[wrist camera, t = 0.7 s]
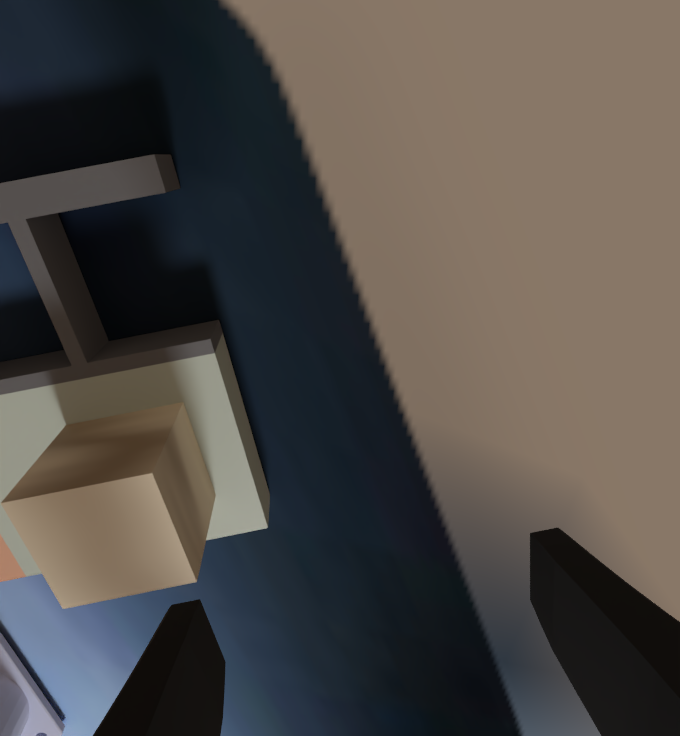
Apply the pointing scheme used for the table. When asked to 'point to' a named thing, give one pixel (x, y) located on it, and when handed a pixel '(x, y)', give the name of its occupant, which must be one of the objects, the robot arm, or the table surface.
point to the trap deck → (114, 358)
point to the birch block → (116, 506)
